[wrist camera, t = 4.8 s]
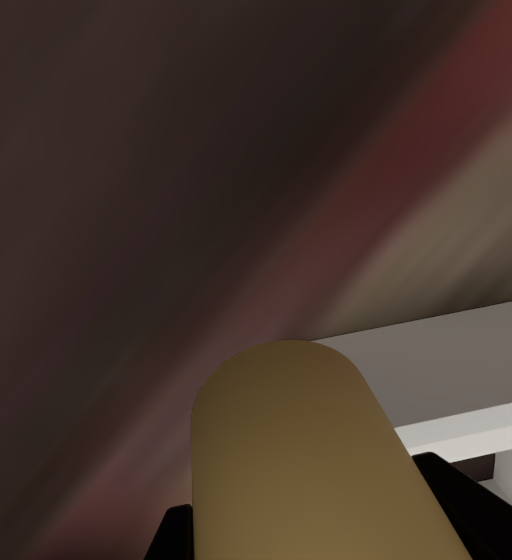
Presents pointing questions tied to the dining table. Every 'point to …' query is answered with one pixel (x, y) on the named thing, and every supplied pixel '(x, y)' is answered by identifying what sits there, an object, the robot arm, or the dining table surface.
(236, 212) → the dining table surface
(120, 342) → the dining table surface
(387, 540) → the peg
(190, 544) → the robot arm
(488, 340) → the socket box
